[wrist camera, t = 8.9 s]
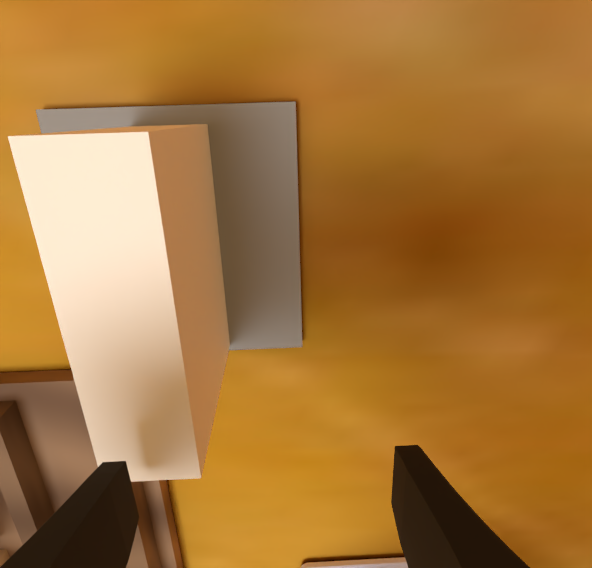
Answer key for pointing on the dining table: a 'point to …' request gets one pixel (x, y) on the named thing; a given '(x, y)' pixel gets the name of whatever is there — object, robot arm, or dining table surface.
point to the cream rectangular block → (134, 285)
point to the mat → (237, 205)
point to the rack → (64, 467)
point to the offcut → (3, 556)
